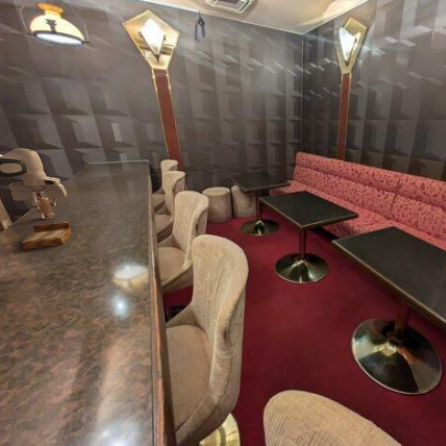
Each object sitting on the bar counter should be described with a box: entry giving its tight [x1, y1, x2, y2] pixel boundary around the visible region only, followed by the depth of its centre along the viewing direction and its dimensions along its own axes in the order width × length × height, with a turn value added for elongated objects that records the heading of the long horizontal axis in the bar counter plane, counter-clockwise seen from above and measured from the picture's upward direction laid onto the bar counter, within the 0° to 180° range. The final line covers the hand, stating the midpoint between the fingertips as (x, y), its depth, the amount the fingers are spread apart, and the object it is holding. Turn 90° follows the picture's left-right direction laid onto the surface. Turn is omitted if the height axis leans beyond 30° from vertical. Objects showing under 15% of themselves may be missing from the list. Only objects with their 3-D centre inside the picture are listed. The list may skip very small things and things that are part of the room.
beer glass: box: [31, 191, 57, 220], centre depth 131 cm, size 7×7×15 cm
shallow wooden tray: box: [21, 221, 73, 250], centre depth 108 cm, size 12×14×6 cm
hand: (44, 206), depth 131 cm, fingers closed on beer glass, 6 cm apart
